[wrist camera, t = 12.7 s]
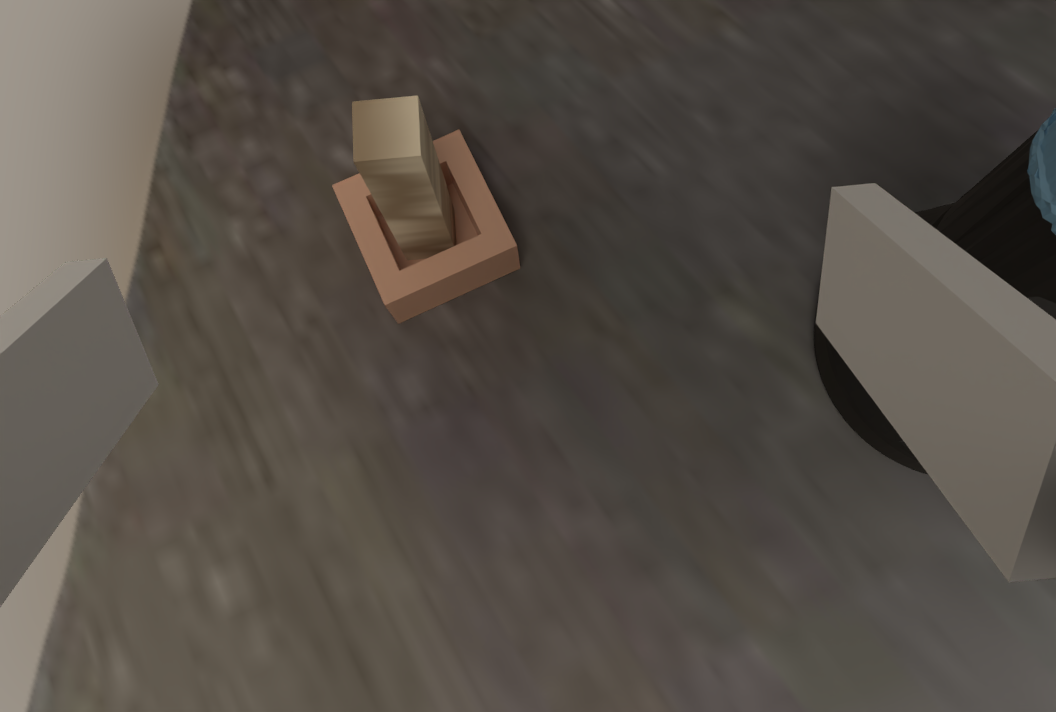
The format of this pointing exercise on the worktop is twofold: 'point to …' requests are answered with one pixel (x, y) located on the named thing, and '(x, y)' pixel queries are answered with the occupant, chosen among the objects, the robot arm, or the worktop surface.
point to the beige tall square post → (404, 174)
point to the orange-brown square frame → (448, 273)
